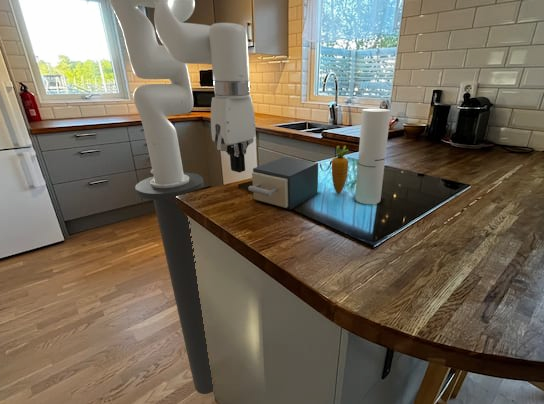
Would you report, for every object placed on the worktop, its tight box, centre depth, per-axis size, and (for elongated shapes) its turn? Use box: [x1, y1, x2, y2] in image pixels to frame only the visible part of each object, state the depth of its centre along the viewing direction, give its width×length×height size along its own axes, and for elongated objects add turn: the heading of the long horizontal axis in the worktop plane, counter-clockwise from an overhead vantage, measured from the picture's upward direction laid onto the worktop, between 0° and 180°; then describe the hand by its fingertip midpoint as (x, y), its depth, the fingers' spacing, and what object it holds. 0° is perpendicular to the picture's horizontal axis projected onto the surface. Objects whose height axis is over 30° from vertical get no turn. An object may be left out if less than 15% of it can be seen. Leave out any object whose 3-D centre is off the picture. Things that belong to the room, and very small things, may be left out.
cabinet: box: [252, 156, 319, 211], centre depth 87 cm, size 15×13×10 cm
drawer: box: [247, 171, 288, 209], centre depth 84 cm, size 18×11×8 cm, turn 146°
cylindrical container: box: [354, 107, 392, 205], centre depth 81 cm, size 7×7×25 cm
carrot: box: [331, 145, 350, 195], centre depth 87 cm, size 5×5×15 cm
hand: (238, 170), depth 72 cm, fingers closed
